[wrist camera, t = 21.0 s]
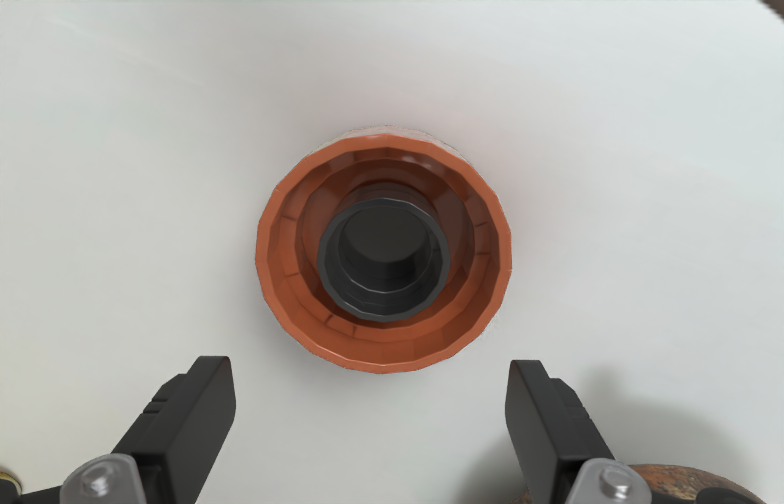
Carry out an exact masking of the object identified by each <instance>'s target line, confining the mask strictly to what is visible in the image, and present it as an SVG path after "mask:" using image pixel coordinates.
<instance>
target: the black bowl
mask: <svg viewBox="0 0 784 504" xmlns="http://www.w3.org/2000/svg"><path fill="white" fill-rule="evenodd" d="M316 263H317V264H316V265H317V268H318V272H319V275H320V279H321V282H322V286H323V288H324V289H325V290H326V292H327V293H328V294H329V295H330V296H331V298H332V299H333V300H334V301H335V303H336V304H337V305H338V306H339V307H340V308H342V309H344V310H346V311H347V312H349V313H351V314H353V315H354V316H356V317H358V318H360V319H365V320H371V321H376V322H382V323H384V322H385V323H387V322H392V321H398V320H403V319H408V318H411V317H412V316H414V315H416V314H417V313H419V312H421V311H422V310H424V309H426V308H427V307H429V306H430V305H431V304H432V303H433V302H434V300H435V299H436V298H437V296H438V295H439V294H440V293H441V291H442V290H443V289H444V287H445V285H446V281H447V277H448V273H449V270H450V266H451V259H450V253H449V247H448V241H447V237H446V235H445V232H444V229H443V226H442V223H441V220H440V218H439V216H438V214H437V213H436V211H435V210H434V208H433V207H432V205H431V204H430V202H429V201H428V199H426V198H425V197H424V196H422V195H421V194H419V193H418V192H416V191H415V190H413V189H412V188H410V187H407V186H406V185H400V184H395V183H390V182H380V183H375V184H370V185H365V186H362V187H359V188H358V189H356V190H355V191H353V192H352V193H350V194H349V195H348V196H346V197H345V198H343V200H341V202H340V203H339V205H338V206H337V208H336V209H335V211H334V213H333V214H332V216H331V217H330V219H329V221H328V223H327V225H326V227H325V229H324V231H323V233H322V235H321V237H320V240H319V247H318V254H317V261H316Z"/></svg>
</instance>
